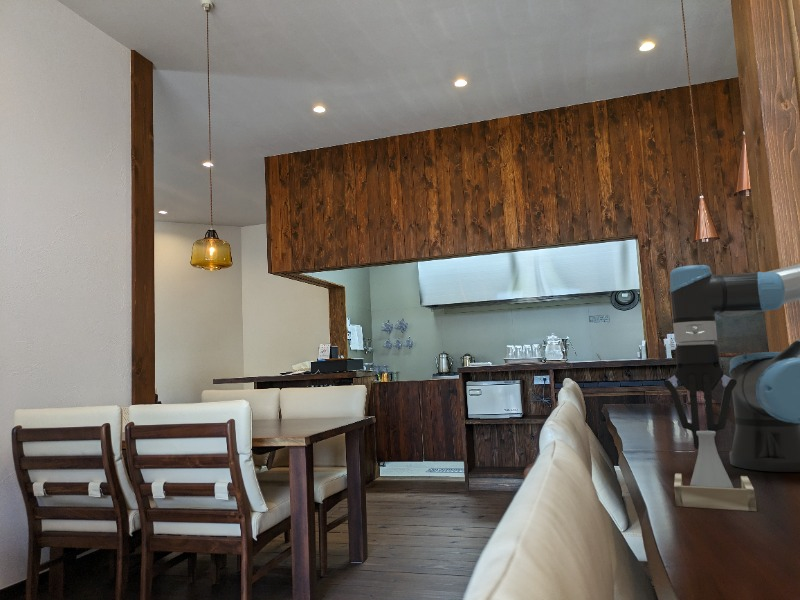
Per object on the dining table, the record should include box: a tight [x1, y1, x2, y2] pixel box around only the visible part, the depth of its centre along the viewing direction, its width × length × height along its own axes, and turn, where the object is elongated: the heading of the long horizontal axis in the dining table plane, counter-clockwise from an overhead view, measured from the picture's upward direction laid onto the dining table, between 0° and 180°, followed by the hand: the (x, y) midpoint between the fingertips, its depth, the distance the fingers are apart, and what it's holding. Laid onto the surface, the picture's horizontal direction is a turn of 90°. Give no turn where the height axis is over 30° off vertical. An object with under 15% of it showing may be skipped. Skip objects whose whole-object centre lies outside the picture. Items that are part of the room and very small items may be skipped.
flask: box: [689, 430, 735, 488], centre depth 103 cm, size 7×7×10 cm
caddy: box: [673, 473, 758, 512], centre depth 94 cm, size 12×11×3 cm
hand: (706, 466), depth 111 cm, fingers closed
